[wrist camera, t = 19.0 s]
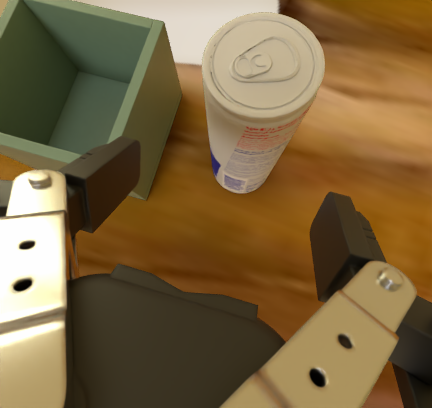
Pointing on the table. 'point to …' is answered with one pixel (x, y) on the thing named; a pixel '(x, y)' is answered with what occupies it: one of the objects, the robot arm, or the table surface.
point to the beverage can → (257, 93)
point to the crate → (84, 84)
